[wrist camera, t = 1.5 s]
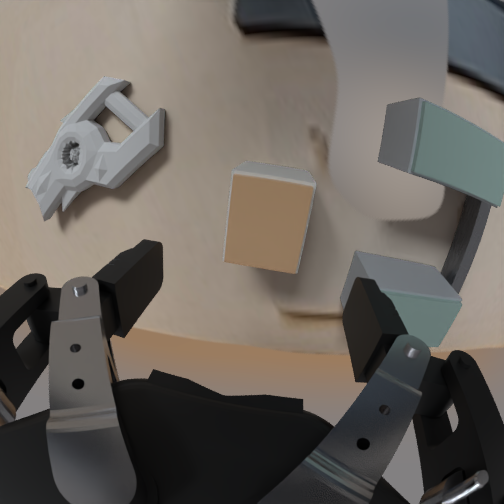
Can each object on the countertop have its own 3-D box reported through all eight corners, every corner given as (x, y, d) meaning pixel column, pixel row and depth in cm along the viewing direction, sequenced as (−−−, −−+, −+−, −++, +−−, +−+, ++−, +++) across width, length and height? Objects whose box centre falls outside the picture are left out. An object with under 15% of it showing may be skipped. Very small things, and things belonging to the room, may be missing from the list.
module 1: (246, 160, 21) (230, 171, 15) (308, 170, 21) (317, 185, 15) (237, 229, 23) (220, 264, 18) (295, 239, 23) (297, 277, 17)
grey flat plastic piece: (54, 252, 23) (14, 182, 20) (72, 241, 26) (34, 176, 24) (171, 130, 18) (113, 50, 15) (185, 132, 21) (131, 59, 19)
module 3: (355, 250, 23) (375, 290, 17) (434, 266, 22) (464, 302, 16) (340, 297, 25) (351, 343, 19) (415, 307, 24) (438, 348, 19)
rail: (478, 134, 16) (494, 136, 14) (498, 146, 16) (513, 149, 14) (420, 316, 25) (428, 330, 23) (441, 318, 25) (449, 331, 22)
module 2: (387, 104, 17) (423, 96, 11) (468, 139, 17) (513, 147, 11) (377, 161, 19) (410, 174, 14) (458, 189, 19) (500, 210, 13)
